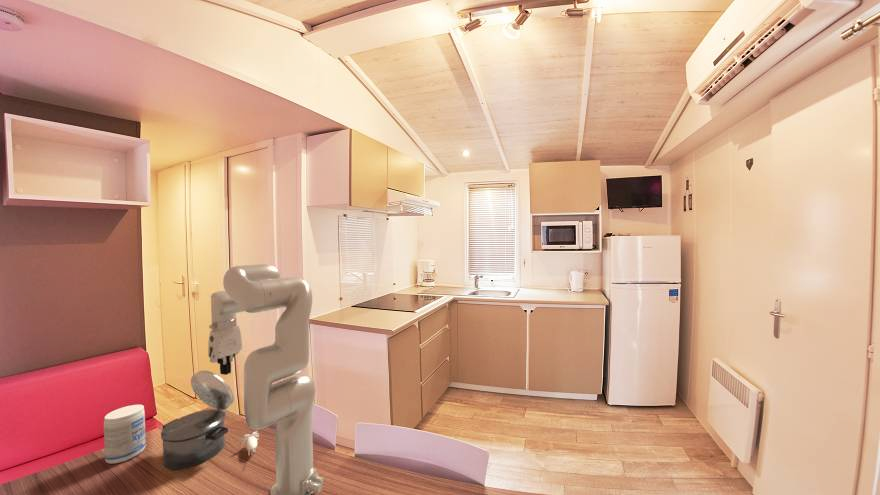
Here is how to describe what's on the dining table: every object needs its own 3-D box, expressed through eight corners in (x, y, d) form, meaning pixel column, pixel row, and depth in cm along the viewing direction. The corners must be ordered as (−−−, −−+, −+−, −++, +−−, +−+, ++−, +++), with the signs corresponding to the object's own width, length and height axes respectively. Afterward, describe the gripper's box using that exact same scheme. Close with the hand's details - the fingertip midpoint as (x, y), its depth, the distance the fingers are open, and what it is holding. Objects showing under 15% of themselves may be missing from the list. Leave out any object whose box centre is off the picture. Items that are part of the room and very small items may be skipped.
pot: (248, 439, 108) (247, 412, 108) (195, 477, 91) (194, 444, 91) (199, 430, 114) (198, 404, 114) (141, 464, 97) (140, 433, 97)
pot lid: (236, 412, 108) (243, 405, 110) (220, 375, 102) (228, 369, 105) (201, 406, 112) (209, 400, 115) (183, 371, 106) (192, 365, 109)
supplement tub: (141, 457, 100) (140, 413, 100) (99, 469, 95) (98, 423, 95) (149, 441, 108) (147, 400, 108) (110, 452, 103) (109, 409, 103)
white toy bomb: (241, 446, 104) (240, 433, 104) (259, 440, 108) (258, 427, 108) (244, 466, 95) (244, 451, 95) (264, 459, 98) (263, 444, 98)
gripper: (212, 330, 104) (213, 383, 104) (249, 320, 119) (251, 366, 119) (195, 329, 106) (197, 381, 106) (235, 319, 121) (236, 364, 121)
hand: (225, 373), depth 113 cm, fingers closed
